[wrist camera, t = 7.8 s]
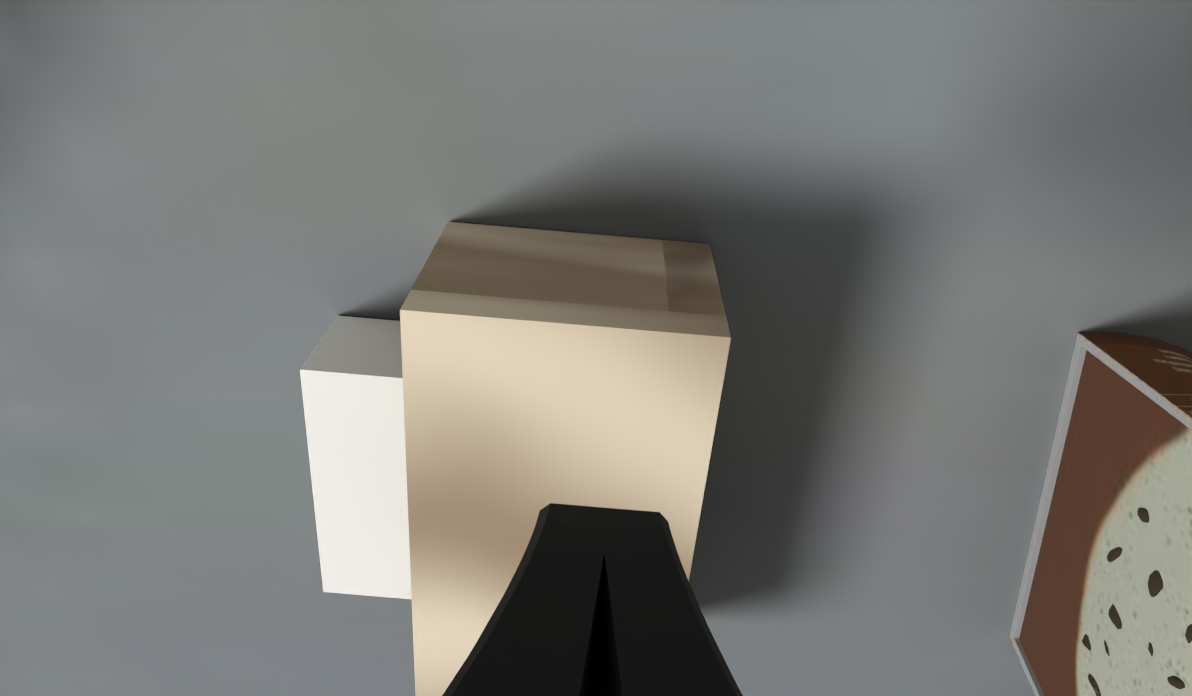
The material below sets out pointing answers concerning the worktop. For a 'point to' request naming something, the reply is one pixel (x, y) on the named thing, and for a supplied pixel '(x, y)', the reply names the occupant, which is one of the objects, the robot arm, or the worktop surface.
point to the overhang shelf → (547, 406)
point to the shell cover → (359, 457)
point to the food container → (1114, 529)
